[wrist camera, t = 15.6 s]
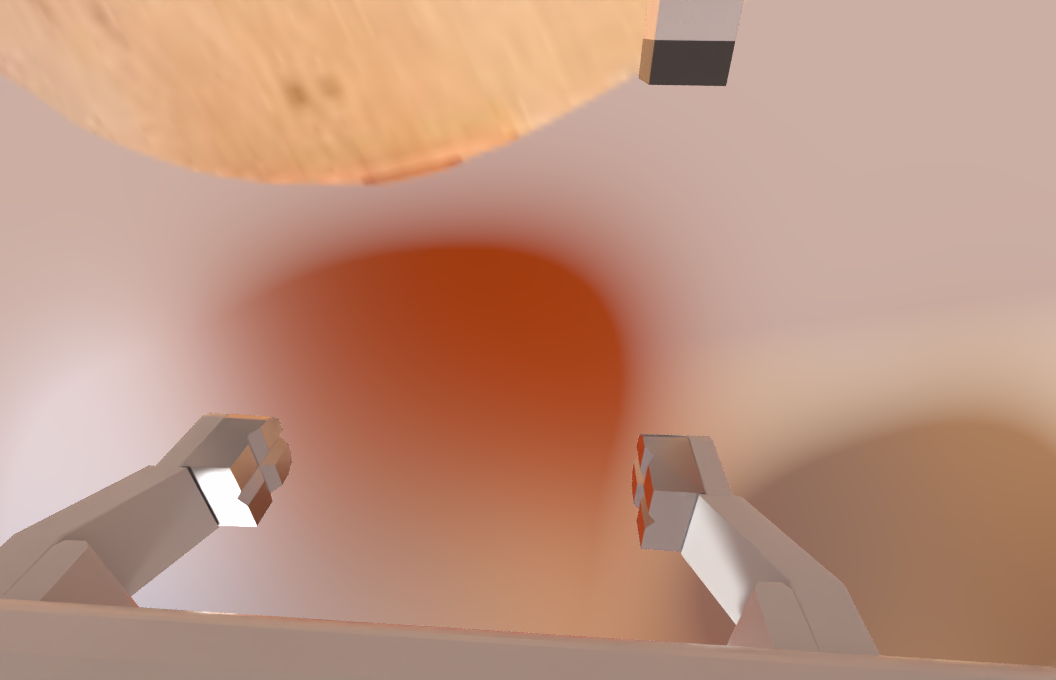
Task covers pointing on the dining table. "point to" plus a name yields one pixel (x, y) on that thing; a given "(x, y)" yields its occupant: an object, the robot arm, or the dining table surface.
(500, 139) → the dining table surface
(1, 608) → the robot arm
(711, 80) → the grey bar
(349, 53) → the dining table surface
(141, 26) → the dining table surface
